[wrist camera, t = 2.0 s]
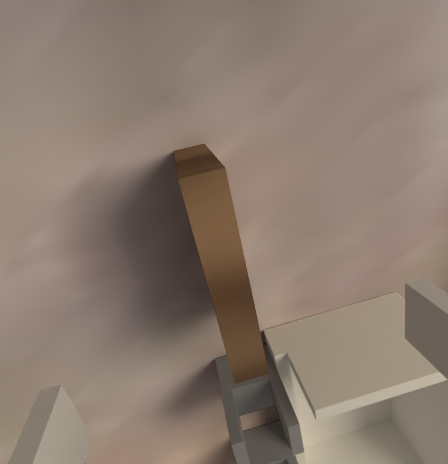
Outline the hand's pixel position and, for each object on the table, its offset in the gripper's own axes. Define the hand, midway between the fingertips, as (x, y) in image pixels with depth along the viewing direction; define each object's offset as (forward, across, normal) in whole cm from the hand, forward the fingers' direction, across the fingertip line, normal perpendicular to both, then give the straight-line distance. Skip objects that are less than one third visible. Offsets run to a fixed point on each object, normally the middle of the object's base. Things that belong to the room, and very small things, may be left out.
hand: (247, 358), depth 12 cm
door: (+12, 0, 0) cm, 12 cm away
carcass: (+12, +6, -17) cm, 22 cm away
